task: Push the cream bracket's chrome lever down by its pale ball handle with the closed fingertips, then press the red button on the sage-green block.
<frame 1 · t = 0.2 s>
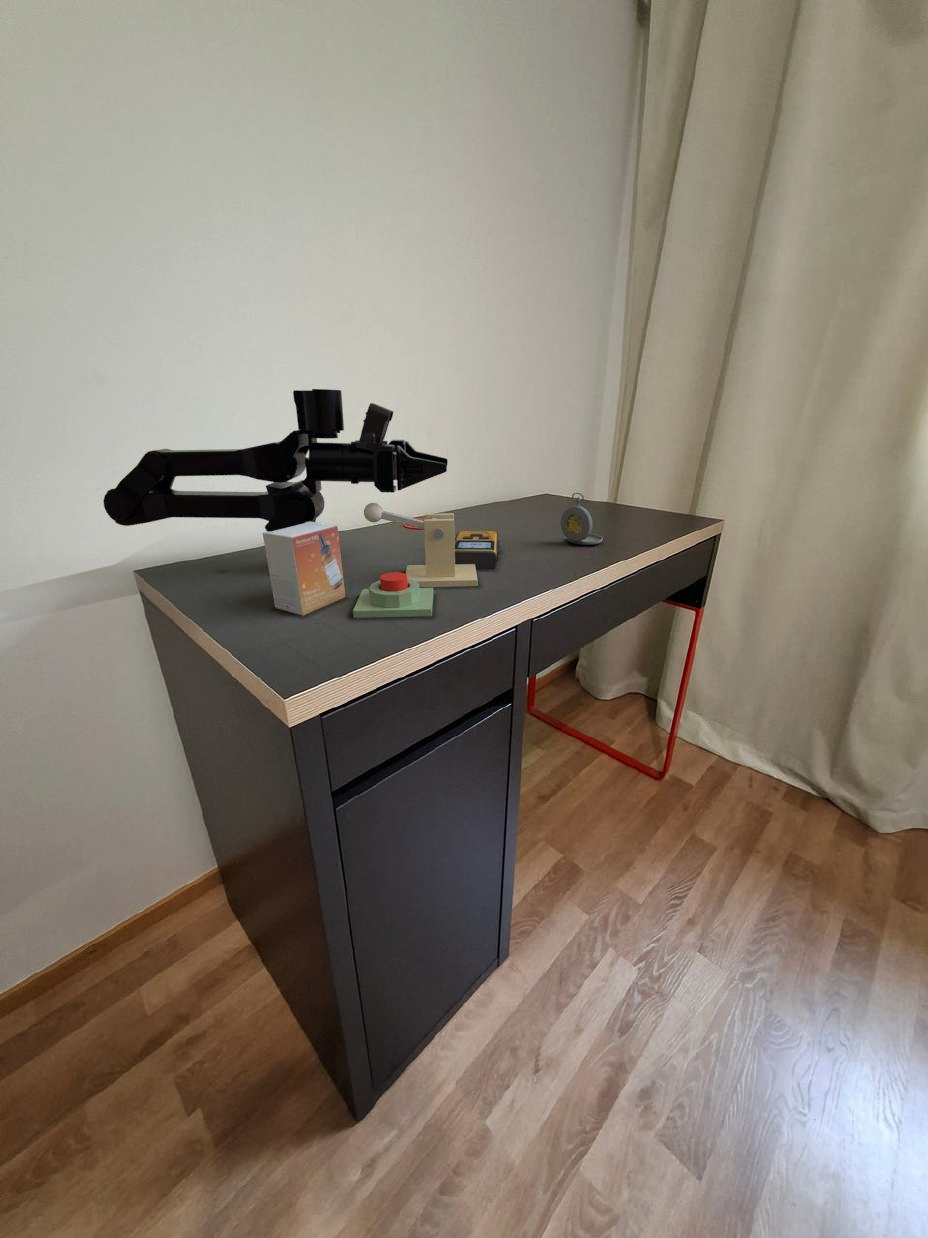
hand: (447, 464, 76), 16 cm above the table, tool horizontal, fingers open, 9 cm apart
bracket: (441, 579, 76), on the table
electronic device: (475, 557, 87), on the table
small box: (311, 604, 68), on the table
pocket watch: (580, 544, 95), on the table
lever: (406, 520, 72), point 9 cm above the table, hinge at 15.0°
button: (394, 582, 65), point 3 cm above the table, slide at 0.1 cm
button block: (395, 606, 66), on the table
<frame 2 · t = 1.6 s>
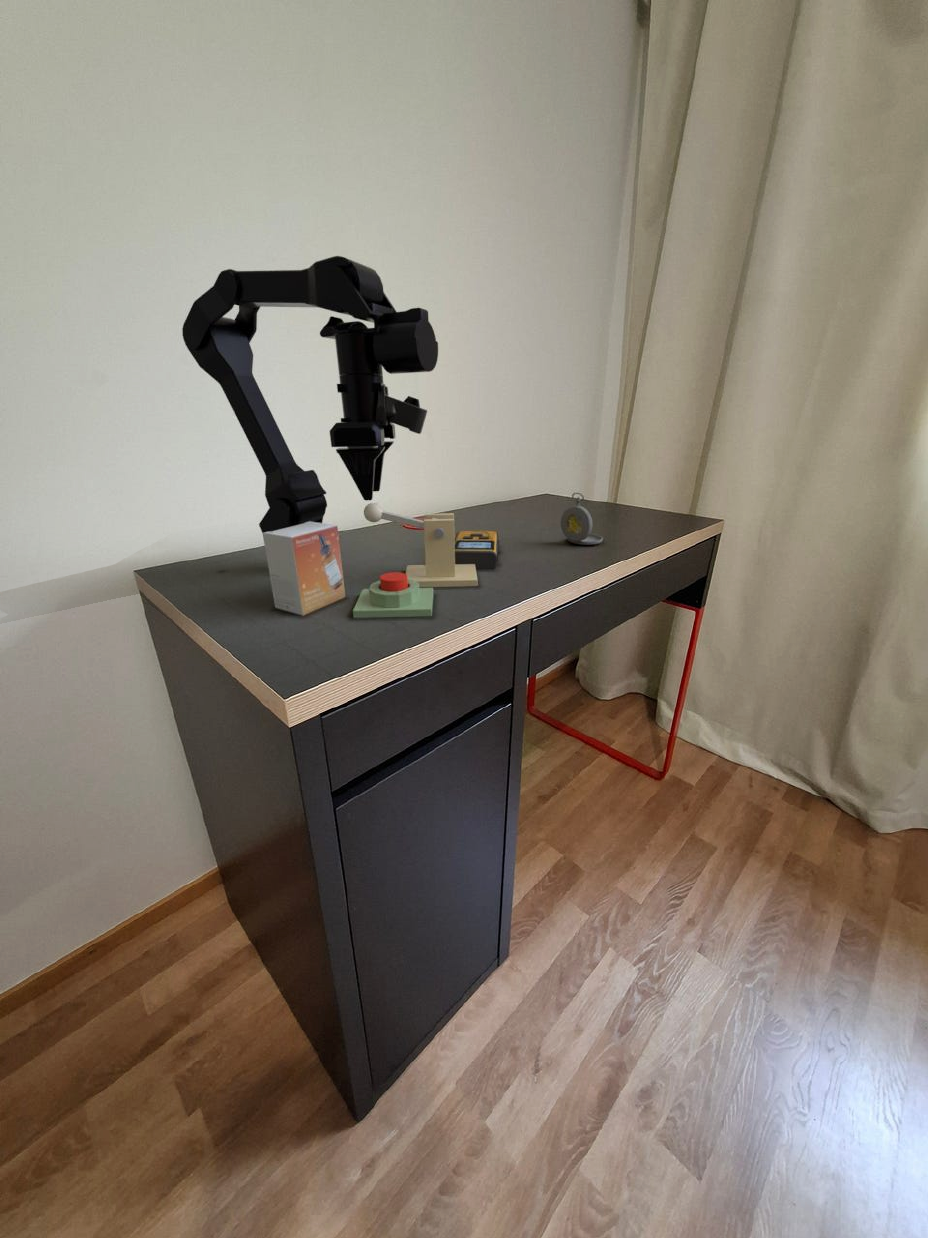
hand: (372, 495, 71), 13 cm above the table, tool pointing down, fingers open, 8 cm apart
nothing on the table moved.
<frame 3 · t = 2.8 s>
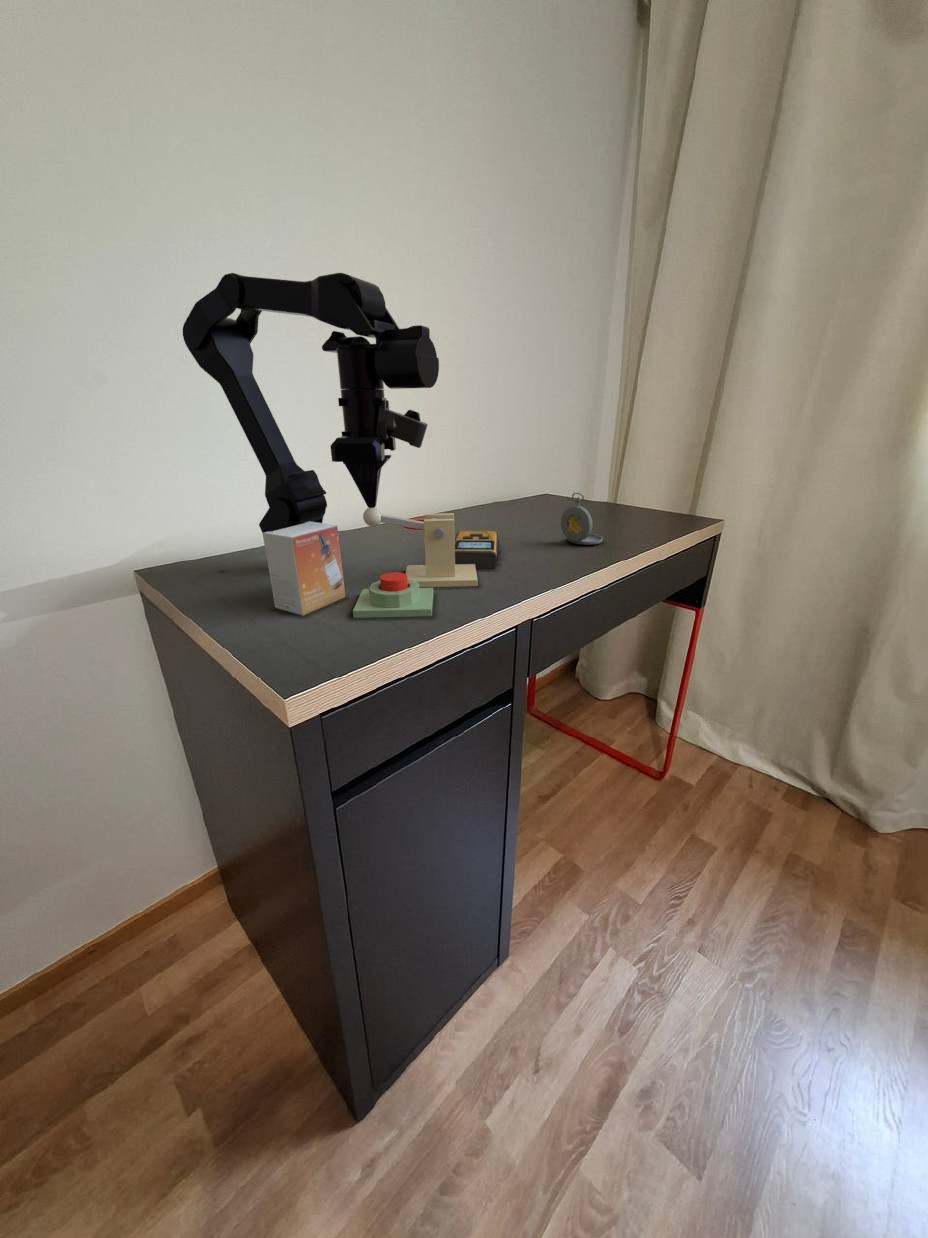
hand: (372, 507, 72), 11 cm above the table, tool pointing down, fingers closed
lever: (406, 522, 73), point 9 cm above the table, hinge at 11.4°, touching gripper
everything else where it was.
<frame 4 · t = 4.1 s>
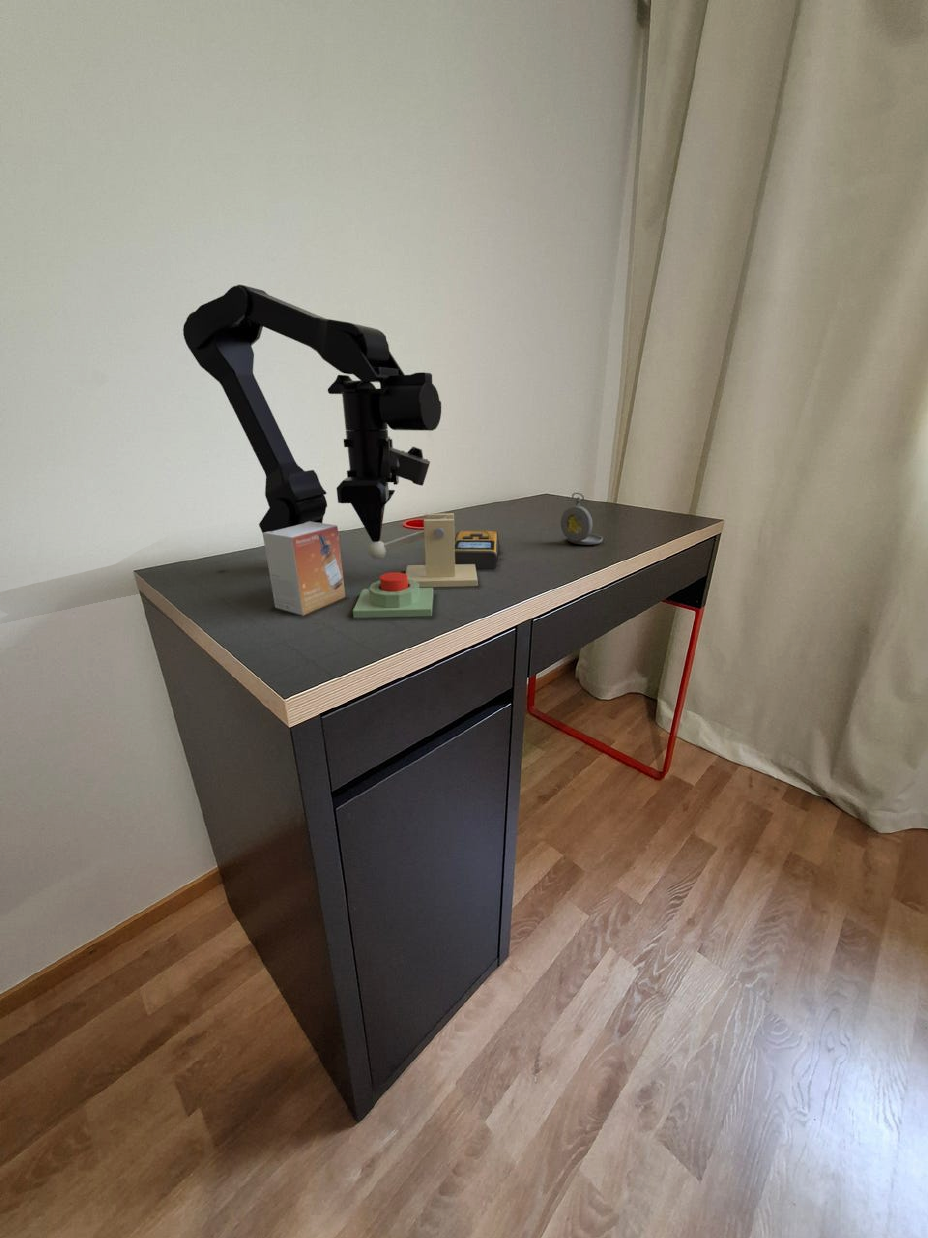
hand: (376, 540, 74), 6 cm above the table, tool pointing down, fingers closed, pressing on lever
lever: (408, 539, 74), point 6 cm above the table, hinge at -17.9°, touching gripper
everything else where it was.
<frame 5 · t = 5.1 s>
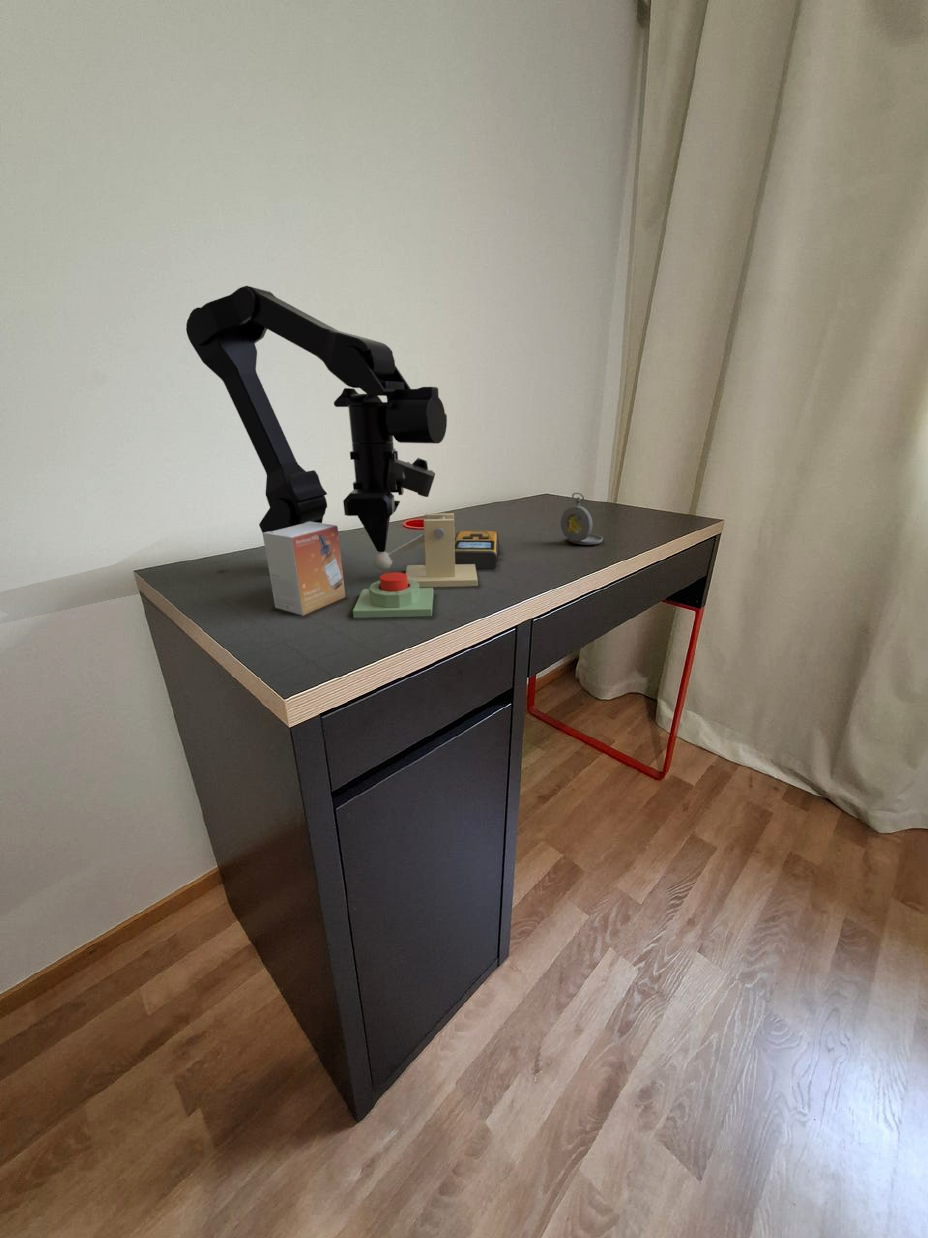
hand: (381, 551, 74), 5 cm above the table, tool pointing down, fingers closed
lever: (411, 544, 74), point 6 cm above the table, hinge at -28.7°
everything else where it was.
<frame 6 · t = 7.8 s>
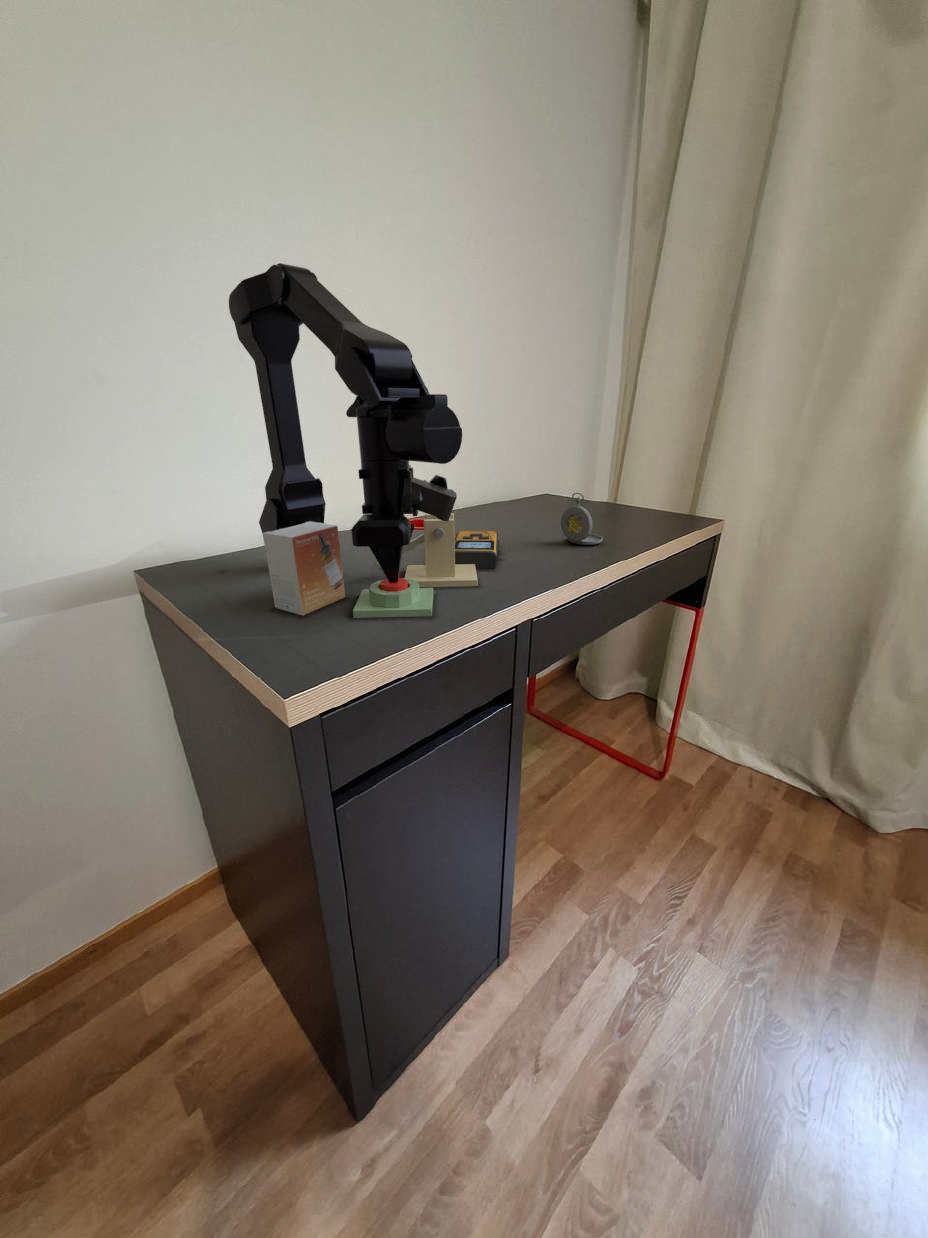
hand: (393, 581, 65), 4 cm above the table, tool pointing down, fingers closed, pressing on button
button: (394, 588, 65), point 3 cm above the table, slide at -0.7 cm, touching gripper
everything else where it was.
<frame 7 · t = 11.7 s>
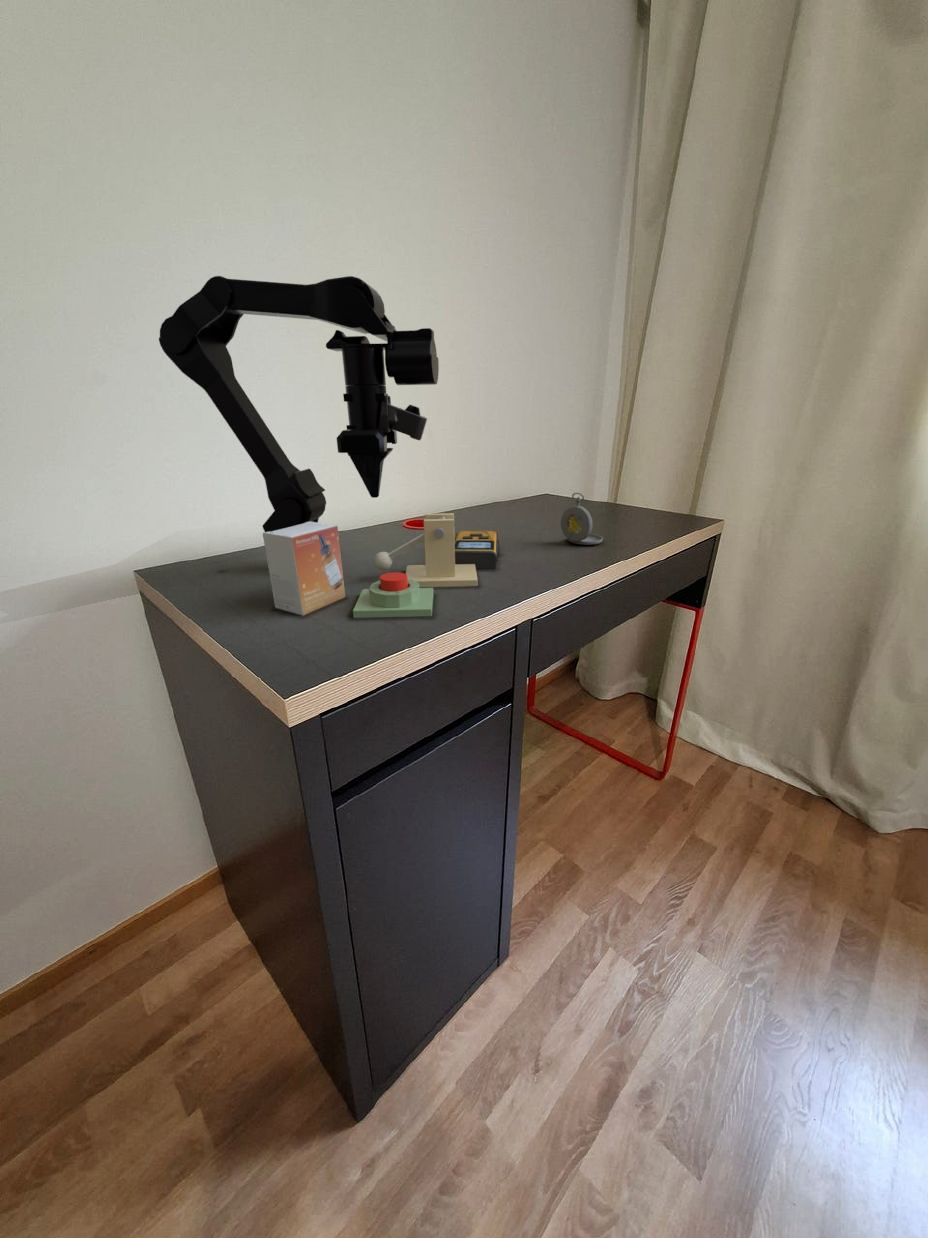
hand: (375, 497, 76), 12 cm above the table, tool pointing down, fingers closed
button: (394, 582, 65), point 3 cm above the table, slide at 0.1 cm
everything else where it was.
at the end: lever at -29° (first picture: +15°); button pushed in 1.1 cm at the most during the clip, back to where it started at the end; button slide at 0.1 cm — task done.
